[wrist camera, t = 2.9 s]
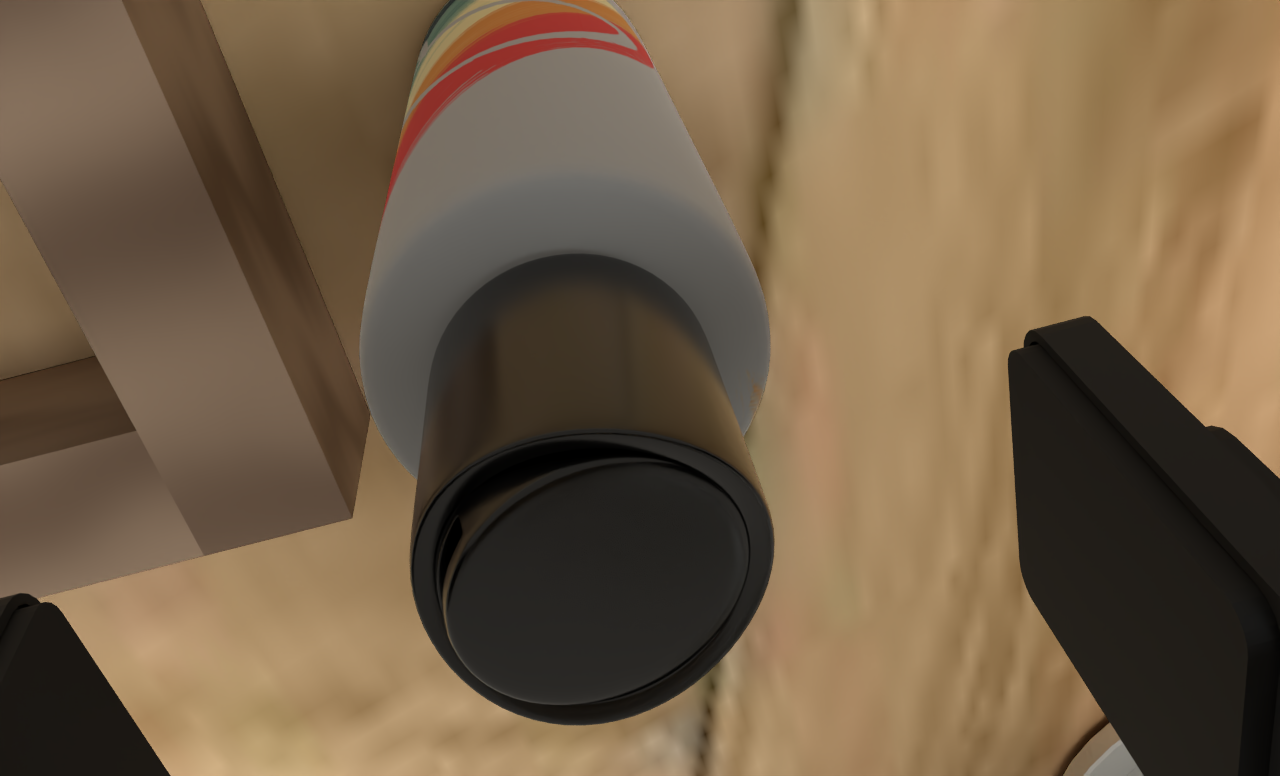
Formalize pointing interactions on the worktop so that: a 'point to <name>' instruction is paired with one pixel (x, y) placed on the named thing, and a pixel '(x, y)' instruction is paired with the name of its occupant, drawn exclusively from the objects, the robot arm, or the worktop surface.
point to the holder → (158, 309)
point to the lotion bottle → (566, 367)
